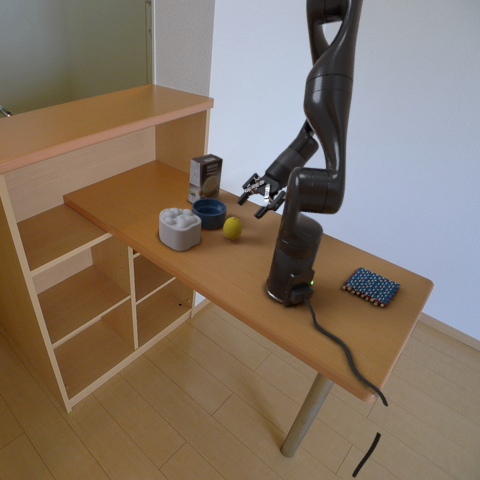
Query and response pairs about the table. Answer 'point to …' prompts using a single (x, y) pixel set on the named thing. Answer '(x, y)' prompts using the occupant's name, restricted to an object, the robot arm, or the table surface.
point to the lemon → (232, 228)
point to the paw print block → (179, 228)
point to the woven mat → (371, 286)
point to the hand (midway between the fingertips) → (247, 210)
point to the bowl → (210, 212)
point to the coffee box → (205, 177)
